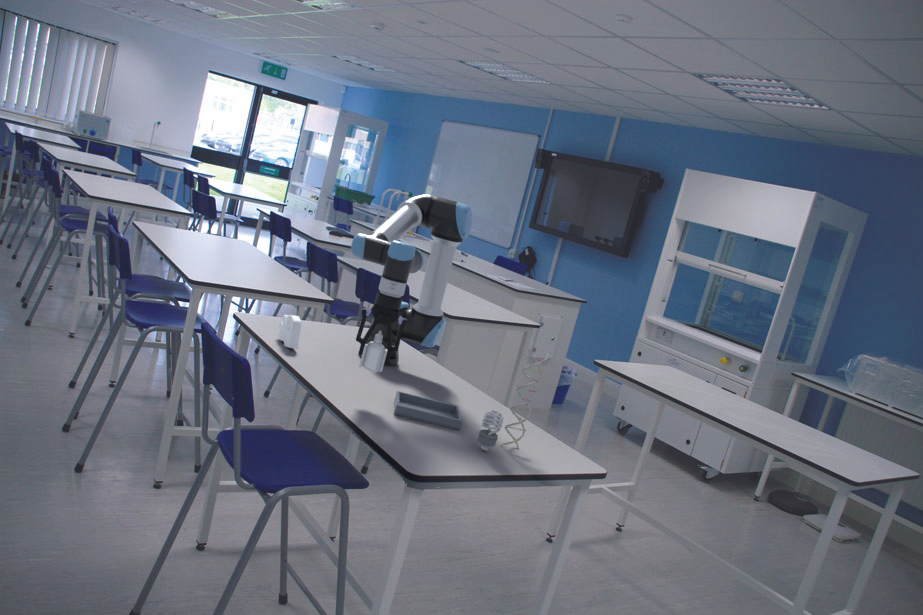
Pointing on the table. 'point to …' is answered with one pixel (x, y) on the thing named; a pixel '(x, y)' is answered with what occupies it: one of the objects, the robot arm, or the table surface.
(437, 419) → the tray
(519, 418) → the dna model
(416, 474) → the table surface
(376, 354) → the eye dropper bottle
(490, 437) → the light bulb
